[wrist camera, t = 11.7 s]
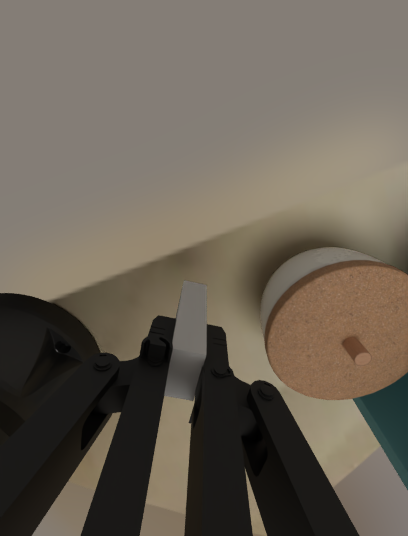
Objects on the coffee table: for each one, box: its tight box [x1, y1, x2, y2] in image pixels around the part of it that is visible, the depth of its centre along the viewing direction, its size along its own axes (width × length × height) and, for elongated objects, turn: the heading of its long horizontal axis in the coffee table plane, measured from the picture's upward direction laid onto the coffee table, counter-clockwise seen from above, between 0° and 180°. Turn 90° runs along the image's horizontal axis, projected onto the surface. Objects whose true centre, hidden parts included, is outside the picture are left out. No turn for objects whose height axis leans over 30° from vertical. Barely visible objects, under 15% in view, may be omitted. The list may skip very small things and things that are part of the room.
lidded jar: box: [260, 247, 408, 400], centre depth 20 cm, size 11×11×9 cm
